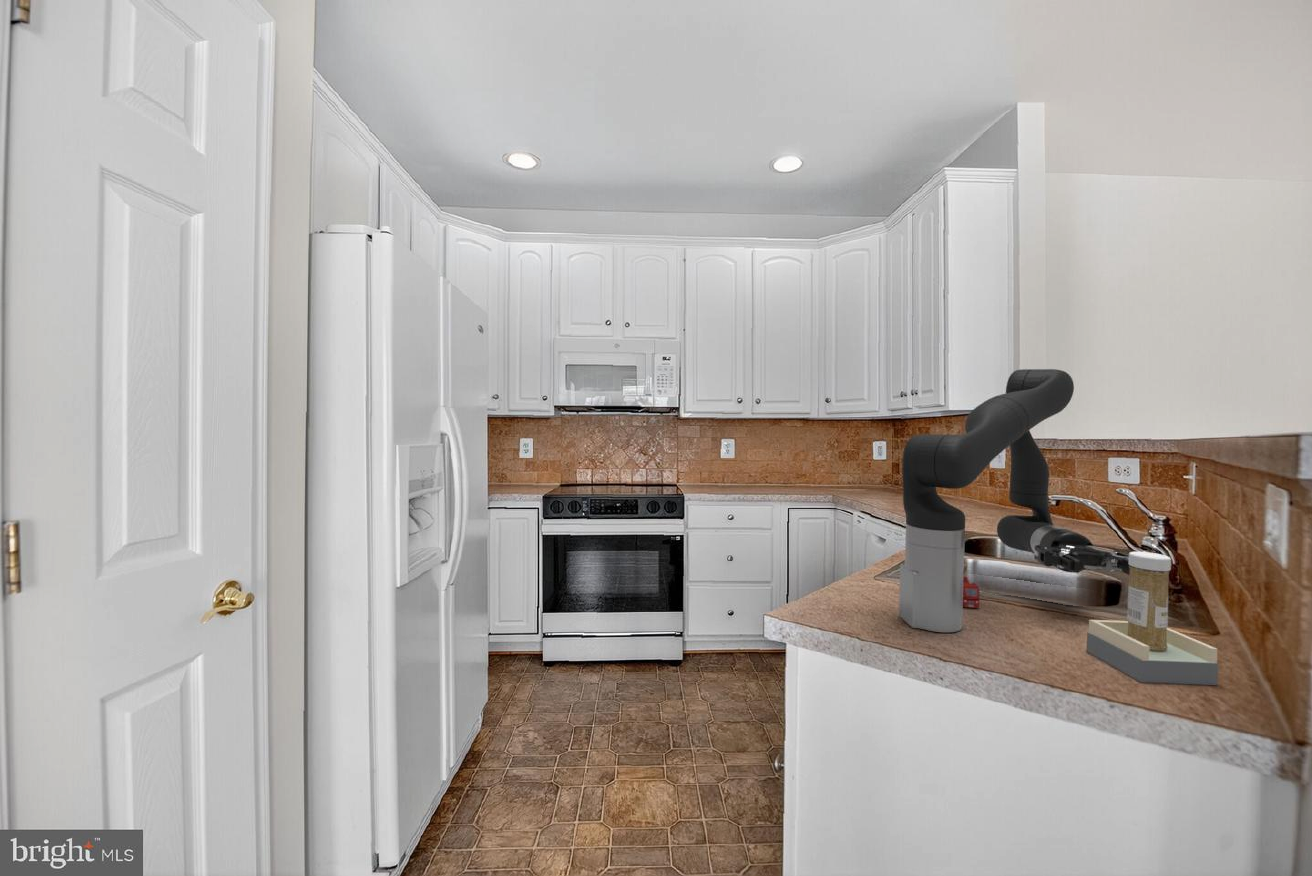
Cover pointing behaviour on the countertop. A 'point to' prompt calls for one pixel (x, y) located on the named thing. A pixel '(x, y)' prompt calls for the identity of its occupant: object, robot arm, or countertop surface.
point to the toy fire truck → (970, 591)
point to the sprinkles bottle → (1148, 599)
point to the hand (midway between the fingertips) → (1107, 568)
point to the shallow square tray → (1153, 655)
